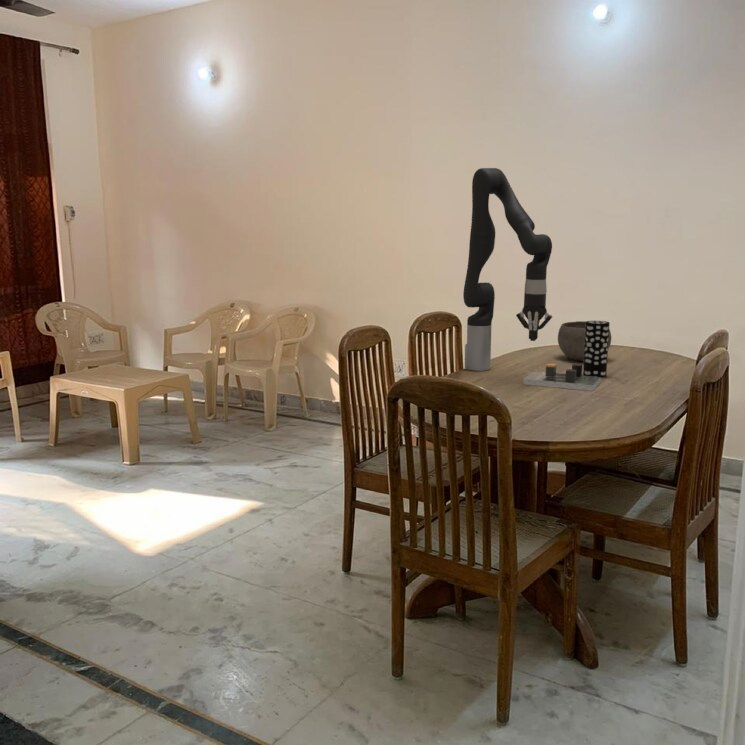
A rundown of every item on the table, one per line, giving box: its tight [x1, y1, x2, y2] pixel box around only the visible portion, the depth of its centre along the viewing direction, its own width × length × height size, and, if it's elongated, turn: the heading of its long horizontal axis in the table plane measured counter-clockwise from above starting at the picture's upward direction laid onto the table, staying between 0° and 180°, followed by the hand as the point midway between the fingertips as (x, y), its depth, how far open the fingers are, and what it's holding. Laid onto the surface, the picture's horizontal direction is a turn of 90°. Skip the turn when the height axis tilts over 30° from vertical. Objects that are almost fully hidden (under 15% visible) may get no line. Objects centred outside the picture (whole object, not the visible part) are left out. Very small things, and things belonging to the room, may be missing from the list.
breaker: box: [545, 363, 558, 377], centre depth 272 cm, size 3×3×4 cm
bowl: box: [557, 320, 612, 362], centre depth 313 cm, size 21×21×15 cm
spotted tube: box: [582, 320, 610, 379], centre depth 282 cm, size 8×8×20 cm
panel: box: [522, 363, 602, 392], centre depth 271 cm, size 24×14×6 cm, turn 64°
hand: (533, 340), depth 274 cm, fingers closed
